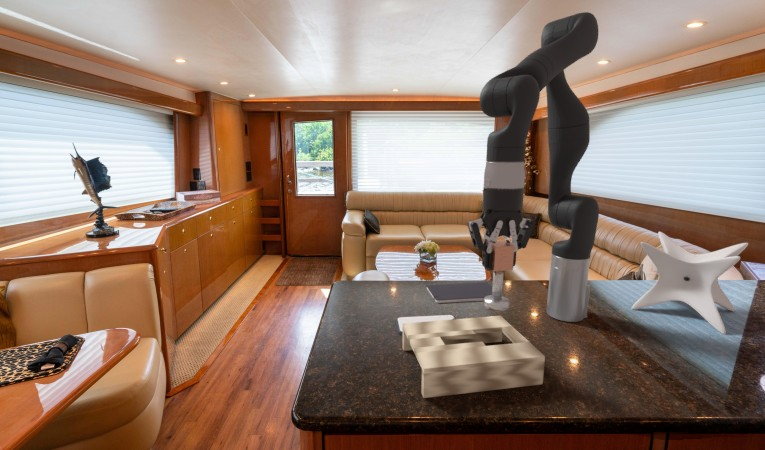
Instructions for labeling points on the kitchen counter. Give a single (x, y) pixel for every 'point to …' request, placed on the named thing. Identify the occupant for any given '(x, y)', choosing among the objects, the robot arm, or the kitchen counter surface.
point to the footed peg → (499, 275)
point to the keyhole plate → (471, 356)
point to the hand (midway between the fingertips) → (498, 268)
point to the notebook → (460, 292)
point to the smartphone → (419, 320)
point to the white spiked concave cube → (690, 278)
